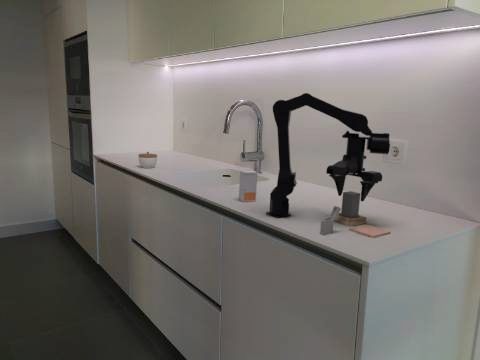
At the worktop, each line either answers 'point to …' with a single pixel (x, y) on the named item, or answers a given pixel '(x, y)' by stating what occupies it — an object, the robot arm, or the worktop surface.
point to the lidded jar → (147, 160)
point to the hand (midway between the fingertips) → (350, 198)
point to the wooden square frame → (351, 220)
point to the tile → (369, 231)
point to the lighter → (329, 221)
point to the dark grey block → (350, 204)
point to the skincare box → (248, 186)
